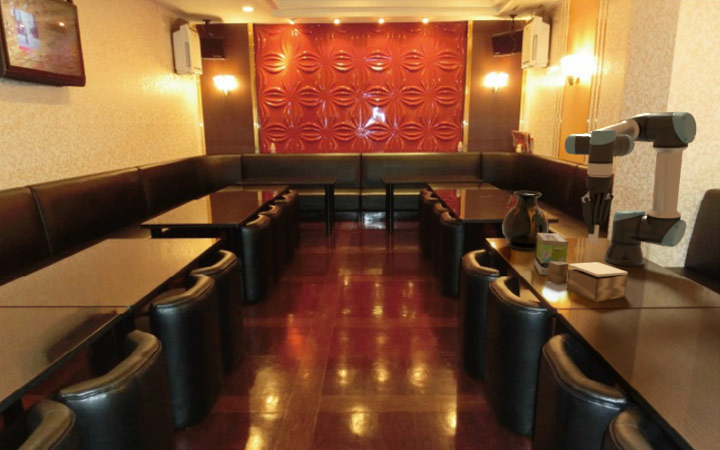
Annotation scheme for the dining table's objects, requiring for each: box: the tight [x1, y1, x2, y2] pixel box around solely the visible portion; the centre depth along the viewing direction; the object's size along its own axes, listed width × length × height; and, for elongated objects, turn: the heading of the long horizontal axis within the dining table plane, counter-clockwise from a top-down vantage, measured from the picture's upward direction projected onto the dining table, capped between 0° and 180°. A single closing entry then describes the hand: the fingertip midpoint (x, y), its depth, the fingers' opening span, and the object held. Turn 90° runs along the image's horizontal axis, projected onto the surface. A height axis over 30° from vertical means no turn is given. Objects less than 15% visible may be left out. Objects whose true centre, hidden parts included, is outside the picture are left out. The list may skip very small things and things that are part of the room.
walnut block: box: [546, 260, 569, 286], centre depth 177 cm, size 5×5×8 cm
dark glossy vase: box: [501, 190, 549, 253], centre depth 224 cm, size 22×22×28 cm
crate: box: [565, 268, 628, 303], centre depth 165 cm, size 14×13×8 cm
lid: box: [568, 261, 628, 277], centre depth 163 cm, size 14×13×1 cm
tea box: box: [533, 232, 569, 276], centre depth 191 cm, size 15×10×15 cm
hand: (592, 242), depth 160 cm, fingers closed
